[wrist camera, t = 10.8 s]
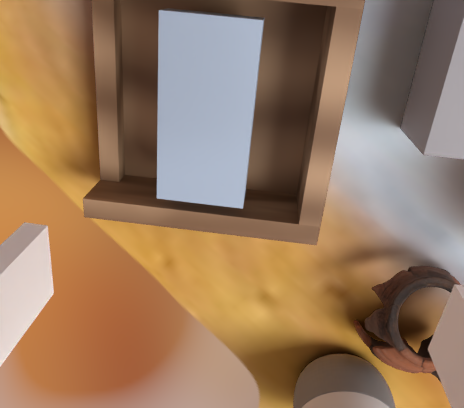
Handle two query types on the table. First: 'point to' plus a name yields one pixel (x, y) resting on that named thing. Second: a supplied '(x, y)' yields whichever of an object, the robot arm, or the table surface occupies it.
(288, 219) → the wooden tray
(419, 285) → the pottery mug
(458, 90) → the stand
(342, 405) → the smart speaker
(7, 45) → the table surface
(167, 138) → the shelf board
